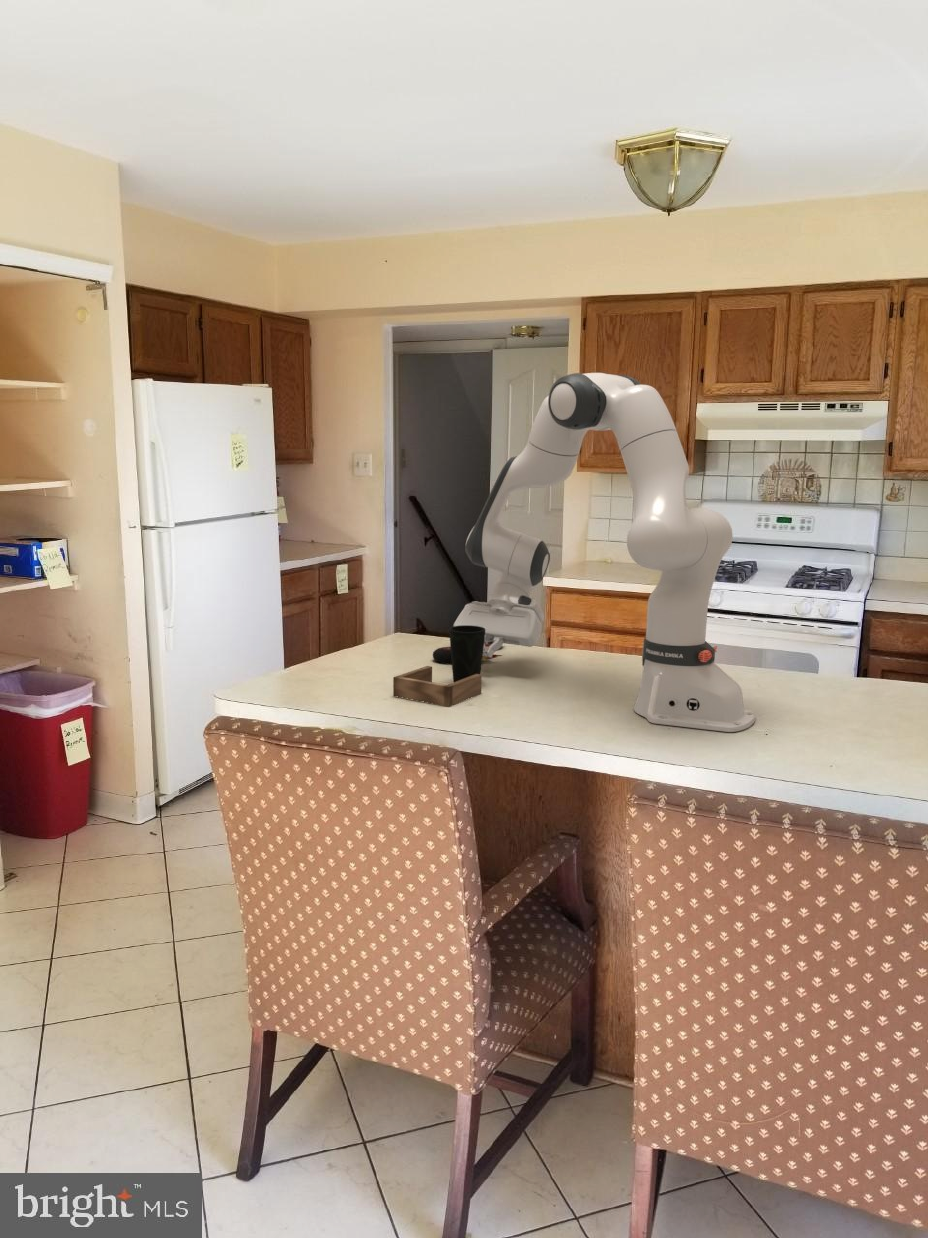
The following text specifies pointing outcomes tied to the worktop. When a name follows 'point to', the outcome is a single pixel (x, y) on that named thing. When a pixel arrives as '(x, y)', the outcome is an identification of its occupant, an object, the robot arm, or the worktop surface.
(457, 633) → the cup
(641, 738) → the worktop surface
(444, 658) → the toy motorcycle
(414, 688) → the bay
